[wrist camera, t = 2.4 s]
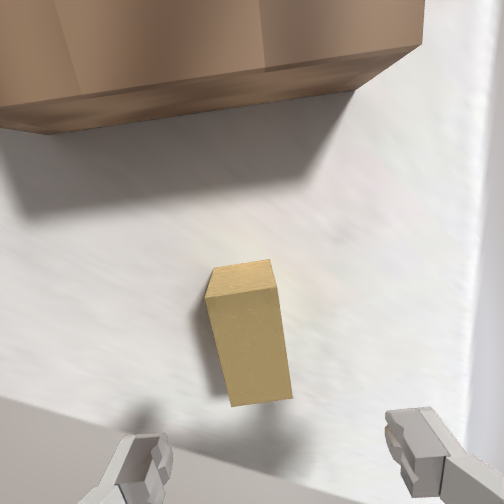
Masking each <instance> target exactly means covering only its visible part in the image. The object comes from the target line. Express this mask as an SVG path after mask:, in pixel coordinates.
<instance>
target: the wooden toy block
mask: <svg viewBox="0 0 504 504" xmlns="http://www.w3.org/2000/svg"><path fill="white" fill-rule="evenodd" d="M205 302H206V306H207V310H208V314H209V318H210V323H211V327H212V331H213V335H214V339H215V343H216V347H217V351H218V355H219V359H220V363H221V367H222V371H223V375H224V379H225V383H226V387H227V391H228V395H229V400H230V404H231V407H236V406H243V405H250V404H257V403H264V402H271V401H278V400H285V399H292V398H293V396H292V389H291V382H290V375H289V368H288V361H287V354H286V347H285V340H284V333H283V326H282V319H281V312H280V305H279V298H278V291H277V285H276V281H275V277H274V274H273V270H272V266H271V262H270V259H267V260H261V261H254V262H248V263H242V264H235V265H229V266H223V267H216V268H214V269H213V272H212V276H211V279H210V282H209V285H208V288H207V292H206V295H205Z"/></svg>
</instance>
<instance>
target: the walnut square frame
mask: <svg viewBox="0 0 504 504" xmlns="http://www.w3.org/2000/svg"><path fill="white" fill-rule="evenodd" d="M424 7H425V0H0V127H1V128H7V129H14V130H20V131H26V132H32V133H39V134H45V135H50V134H57V133H64V132H71V131H77V130H84V129H91V128H98V127H105V126H112V125H118V124H125V123H132V122H139V121H146V120H153V119H159V118H166V117H173V116H180V115H187V114H194V113H200V112H207V111H214V110H221V109H228V108H235V107H241V106H248V105H255V104H262V103H269V102H276V101H282V100H289V99H296V98H303V97H310V96H317V95H323V94H330V93H337V92H344V91H351V90H356V89H358V88H359V87H361V86H362V85H364V84H365V83H366V82H368V81H369V80H371V79H372V78H374V77H375V76H377V75H378V74H379V73H381V72H382V71H384V70H385V69H387V68H388V67H390V66H391V65H392V64H394V63H395V62H397V61H398V60H400V59H401V58H403V57H404V56H405V55H407V54H408V53H410V52H411V51H413V50H414V49H416V48H417V47H418V46H420V45H421V44H422V37H423V22H424Z"/></svg>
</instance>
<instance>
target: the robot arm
mask: <svg viewBox="0 0 504 504" xmlns="http://www.w3.org/2000/svg"><path fill="white" fill-rule="evenodd" d="M385 419H386V421H387V423H388V425H387V426H386V427H385V438H386V442H387V446H388V448H389V451H390V453H391V455H392V457H393V459H394V460H395V461H396V462H397V463H398V464H400V465H401V476H402V478H403V480H404V482H405V484H406V486H407V488H408V490H409V492H410V494H411V496H412V498H420V497H440V499H441V500H442V501H443V502H444V503H445V504H504V475H503V474H501V473H500V472H498V471H497V470H495V469H494V468H492V467H491V466H489V465H488V464H486V463H485V462H483V461H482V460H480V459H479V458H477V457H476V456H474V455H468V454H467V453H466V451H465V450H464V449H463V447H462V446H461V445H460V443H459V442H458V441H457V439H456V438H455V437H454V435H453V434H452V433H451V432H450V430H449V429H448V428H447V426H446V425H445V424H444V422H443V421H442V420H441V418H440V417H439V416H438V414H437V413H436V412H435V411H434V409H432V408H431V407H422V408H408V409H399V410H390V411H386V413H385ZM167 441H168V437H167V435H166V432H164V433H149V434H135V435H125V436H124V437H123V438H122V439H121V441H120V443H119V445H118V447H117V449H116V451H115V453H114V455H113V457H112V459H111V461H110V463H109V465H108V467H107V469H106V471H105V473H104V475H103V477H102V479H101V481H100V483H99V485H98V486H97V487H93V488H92V489H91V490H90V491H89V492H88V493H87V494H86V495H85V496H84V497H83V498H82V499H81V500H80V501H79V502H78V503H77V504H163V500H164V497H165V491H164V488H163V486H164V485H165V483H166V482H167V481H168V480H169V478H170V474H171V470H172V463H173V455H172V450H171V447H170V446H168V445H167Z"/></svg>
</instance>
